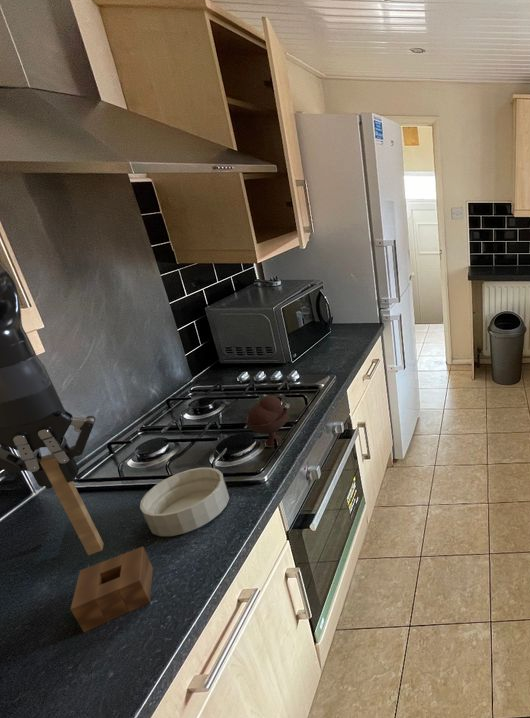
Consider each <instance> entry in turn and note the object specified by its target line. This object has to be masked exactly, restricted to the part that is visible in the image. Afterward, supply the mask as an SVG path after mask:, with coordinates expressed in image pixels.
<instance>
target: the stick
mask: <svg viewBox="0 0 530 718" xmlns="http://www.w3.org/2000/svg"><path fill="white" fill-rule="evenodd" d="M40 464H41V466H42V468H43V469H44V471H45V473H46V475H47V477H48V479H49V481H50V482H51V484H52V486H53V487H52V489H53V491H54V493H55V494H56V497H57V498H58V500H59V502H60V504H61V506H62V508H63V510H64V511H65V514H66V515H67V518H68V519H69V522H70V523H71V525H72V527H73V529H74V531H75V533H76V535H77V537H78V538H79V540H80V543H81V545H82V546H83V548H84V550H85V552H86V554H87V556H91V555H93V554H96V553H99V552H102V551H103V549H104V541H103V539H102V537H101V535H100V533H99V532H98V529H97V528H96V524H95V523H94V521H93V520H92V517H91V515H90V513H89V510H88V509H87V507H86V504H85V503H84V501H83V499H82V496H81V495H80V493H79V491H78V489H77V487H76V485H75V482H74V481H72V482H67V481H66V479H65V477H64V475H63V473H62V471H61V469H60V467H59V464H60V463H59V462H58V461H57V459H56V457H55V456H54V454H52V453H50V454H46V455H43V456H42V458H41V460H40Z"/></svg>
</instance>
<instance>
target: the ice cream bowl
mask: <svg viewBox="0 0 530 718" xmlns="http://www.w3.org/2000/svg"><path fill="white" fill-rule="evenodd" d="M288 418H289V407H287V406H284V405H283V404H282V401H281V399H280V398H279V397H277V396H275V395H267V396H264V397H262V398H261V399H260V400H259V402H258V403H256V404H254V406H251V408H250V409H249V410H248V413H247V415H246V416H245V420H244V424H245V425H246V428H248V429H249V430H250V431H253V432H254V433H256V434H260V435H268V438H269V439H268V438H267V439H268V440H267V439H266V440H267V441H266V444H267V445H268V446H274V443H275V442H274V439H276V440H277V441H279V440H281V435H276V432H278V431H279V430H280V429H281V428H282V427H284V425H285V424H286V423H287V422H288Z"/></svg>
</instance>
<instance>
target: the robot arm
mask: <svg viewBox="0 0 530 718" xmlns="http://www.w3.org/2000/svg"><path fill="white" fill-rule="evenodd" d="M95 423H96V417H95V416H94V415H87V416H86V417H79V416H78V417H77V416H73V414H72V413H71V412H69V411H68V410H67V409H65V408H64V405H63V403H62V400H61V399H60V397H59V394H58V392H57V390H56V388H55V386H54V384H53V382H52V379H51V377H50V375H49V373H48V371H47V369H46V366H44V364H43V362H42V361H41V359H40V358H39V357H38V354H37V353H36V351H35V348H34V347H33V345H32V342H31V341H30V339H29V337H28V333H26V331H25V329H24V326H23V322H22V310H21V304H20V298H19V293H18V289H17V284H16V281H15V279H14V277H13V275H12V273H11V271H10V270H9V269H8V267H7V266H6V265H5V264H4V263H3V262H2V261H1V260H0V469H1V470H4V471H6V472H7V473H10V474H18V473H21V472H25V471H26V472H30V473H31V474H32V476H33V478H34V480H35V482H36V483H37V485H38V486H39V487H40V488H43V487H44V488H45V489H46V490H48V489H51V488H52V489H53V486H52V484H51V482H50V481H49V479H48V477H47V475H46V473H45V471H44V469H43V468H42V466H41V464H40V460H41V458H42V453H41V449H42V448H47V449H48V451H49V453H50V454H54V456H55V457H56V459H57V461H58V462H59V463H60V464H59V467H60V469H61V471H62V473H63V475H64V477H65V479H66V481H67V482H72V481H73V482H74V481H75V479H76V478H77V477H78V475H79V472H80V468H79V465H78V464H77V462H76V459H75V457H79V456H81V455H83V453H84V450H85V448H86V446H87V444H88V440H89V438H90V436H91V433H92V430H93V428H94V425H95ZM70 426H73V428H74V429H73V430H74V431H75V432H76V433H78V436H77V439H76V441H75V444H74V445H72V446H69V444H68V441H67V439H66V437H65V435H66V434H67V431H68V429H69V428H70ZM3 446H4V447H8V448H10V449H13V450H16V451H18V454H19V455H17V454H14V453H12V452H11V451H9V450H6V449H3V448H2V447H3Z"/></svg>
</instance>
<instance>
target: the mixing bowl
mask: <svg viewBox="0 0 530 718" xmlns="http://www.w3.org/2000/svg"><path fill="white" fill-rule="evenodd" d="M226 483H227V482H226V481H225V477H224V474H223V472H221V471H220V470H219V469H217V468H213V467H197V468H191V469H190V468H189V469H187V470H184V471H181V472H177V473H175V474H174V475H171V476H169V477H167V478H165V479H163V480H162V481H160V482H158V483H157V484H155V485H154V486H152V487H151V488H150V489H149V490H148V491H147V492H146V493H145V494H144V495H143V497H142V498H141V500H140V505H139V510H140V512H141V514H142V516H143V519H144V521H145V524H146V526H147V528H148V529H149V532H151V534H152V535H156V536H158V537H174V536H178V535H183V534H187V533H190V532H192V531H194V530H197V529H199V528H201V527H203V526H205V525H206V524H208V523H209V522H211V521H212V520H214V519H215V518H216V517H218V516H219V515H220V514H221V513H222V512H223V510H224V509H225V508H226V507H227V505H228V503H229V501H230V494H229V489H228V486H227V484H226Z"/></svg>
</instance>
